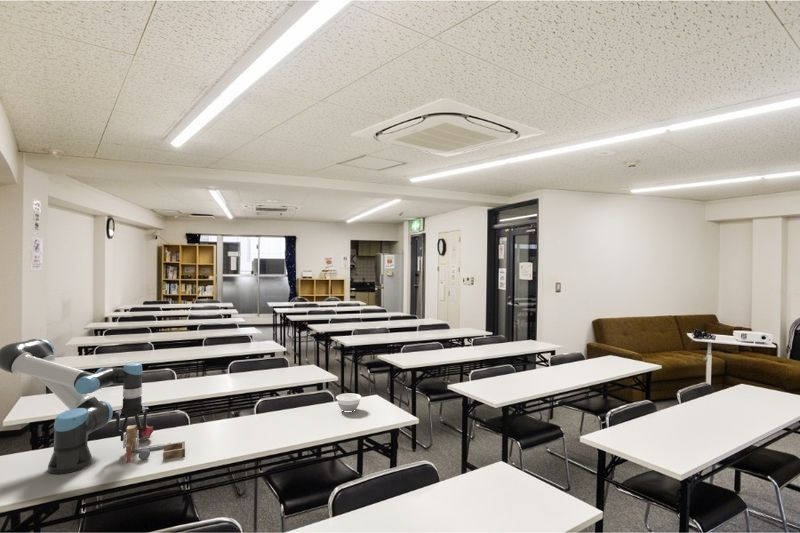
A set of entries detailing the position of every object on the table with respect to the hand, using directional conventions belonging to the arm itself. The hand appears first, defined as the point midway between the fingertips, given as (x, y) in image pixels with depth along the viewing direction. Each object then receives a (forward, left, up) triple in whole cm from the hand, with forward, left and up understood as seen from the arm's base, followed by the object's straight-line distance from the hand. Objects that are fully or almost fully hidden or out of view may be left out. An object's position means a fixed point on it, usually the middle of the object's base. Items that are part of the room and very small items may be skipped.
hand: (131, 446), depth 195 cm
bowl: (+114, +12, -3) cm, 115 cm away
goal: (+18, -10, -3) cm, 21 cm away
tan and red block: (0, -5, -3) cm, 6 cm away
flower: (+4, +14, -3) cm, 15 cm away
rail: (+7, 0, -3) cm, 8 cm away
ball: (+6, -10, -1) cm, 12 cm away
